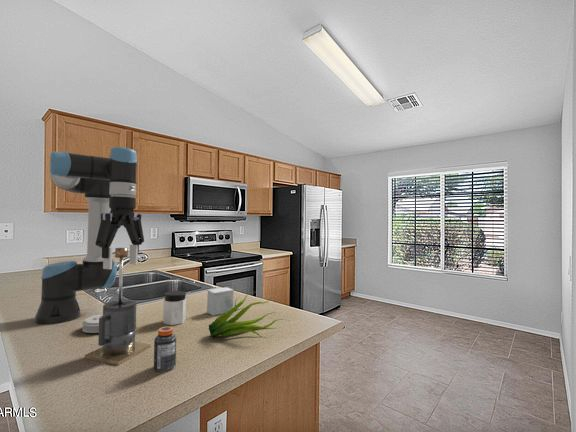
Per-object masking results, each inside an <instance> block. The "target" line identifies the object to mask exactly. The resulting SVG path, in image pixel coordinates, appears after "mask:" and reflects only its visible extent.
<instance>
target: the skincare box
mask: <svg viewBox="0 0 576 432" xmlns="http://www.w3.org/2000/svg"><path fill="white" fill-rule="evenodd" d="M234 294H235V293H234V289H232V288H230V287H221V288H220V287H219V288H212V289H207V297H206V298H207V301H206V313H208V314H209V315H211V316H212V317H214V316H218V315H219V316H220V315H223V314H224V313H225V312H227V311H228V312H229V310H231V309H232V308H234ZM228 312H227V313H228Z"/></svg>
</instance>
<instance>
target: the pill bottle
mask: <svg viewBox="0 0 576 432" xmlns="http://www.w3.org/2000/svg"><path fill="white" fill-rule="evenodd" d="M153 344H154V345H153V347H154V348H153V369H154V371H156V372H158V373H159V372H161V373H162V372H164V373H165V372H168V371H169V372H170V371H171V370H173V369H174V368H176V363H177V361H176V360H177V335H176V334H174V328H173V326H163V327H160V328H158V330H157V336H155V338H154V342H153Z"/></svg>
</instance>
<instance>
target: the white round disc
mask: <svg viewBox="0 0 576 432" xmlns="http://www.w3.org/2000/svg"><path fill="white" fill-rule="evenodd" d="M102 317H103V313H102V314H94V315H91V316H89V317H87V318H86V319H85V320H83V321H82V322H81V323H82V329H81V331H82V332H84V333H86V334H87V333H88V334H99V318H102Z"/></svg>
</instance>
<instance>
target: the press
mask: <svg viewBox="0 0 576 432" xmlns="http://www.w3.org/2000/svg"><path fill="white" fill-rule="evenodd" d="M118 301H119V299H118V300H114V301H109V302H106V303H104V304H103V305H102V314H103V317H102V318H99V333H98V343H97V344H98V346H99V347H100V348H97V349H95V350H92V351H90V352H88V353H86V354H84V359H85V360H90V361H91V360H92V361H96V362H101V363H106V364H109V365H110V364H111V365H115V366H119V365H121V364H123V363H125V362H126V361H128V360H130V359H132V358H134V357H136V356H138V355H140V354H141V353H143V352H145V351H147V350H148V349H150V348H151V344H150V343H144V342H139V341H136V329H137V301H136V300H133V299H122V304H121V305H118Z"/></svg>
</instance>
